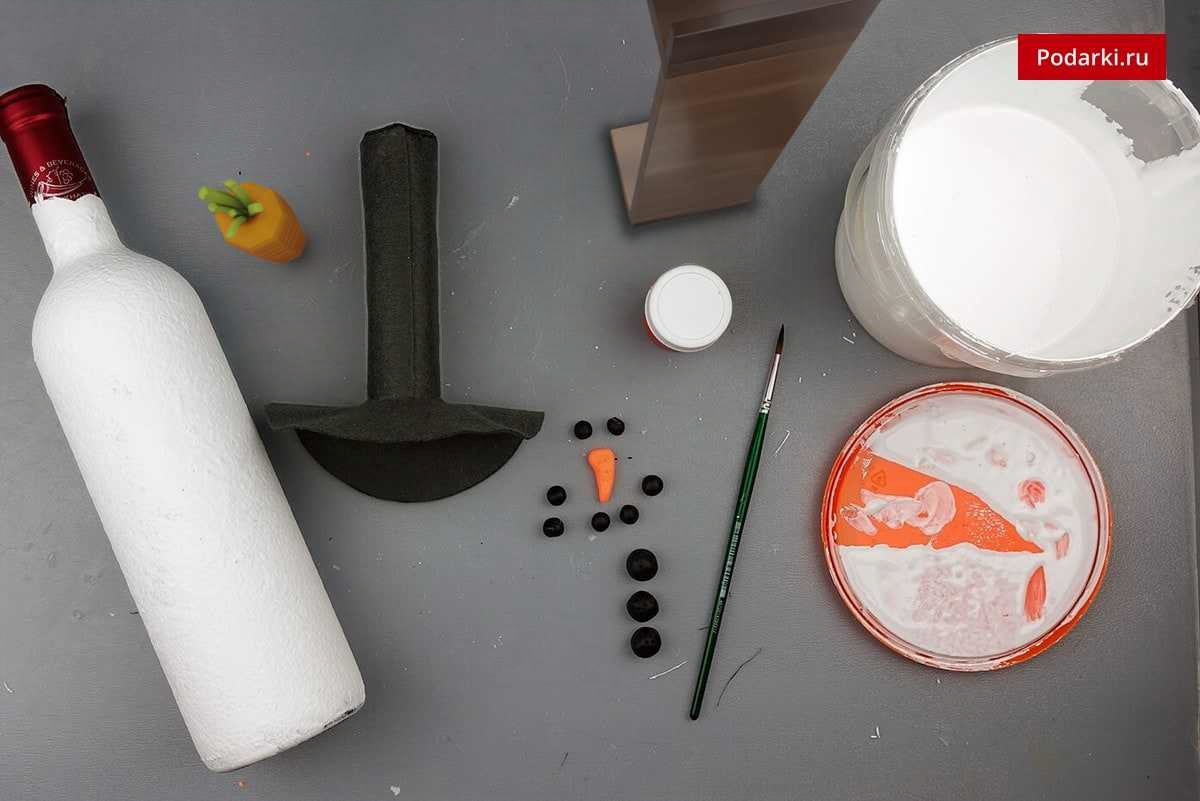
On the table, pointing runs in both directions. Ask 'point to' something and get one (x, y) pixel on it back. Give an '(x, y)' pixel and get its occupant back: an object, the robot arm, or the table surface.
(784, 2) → the rack
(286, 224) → the carrot
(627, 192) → the stand
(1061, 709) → the table surface
